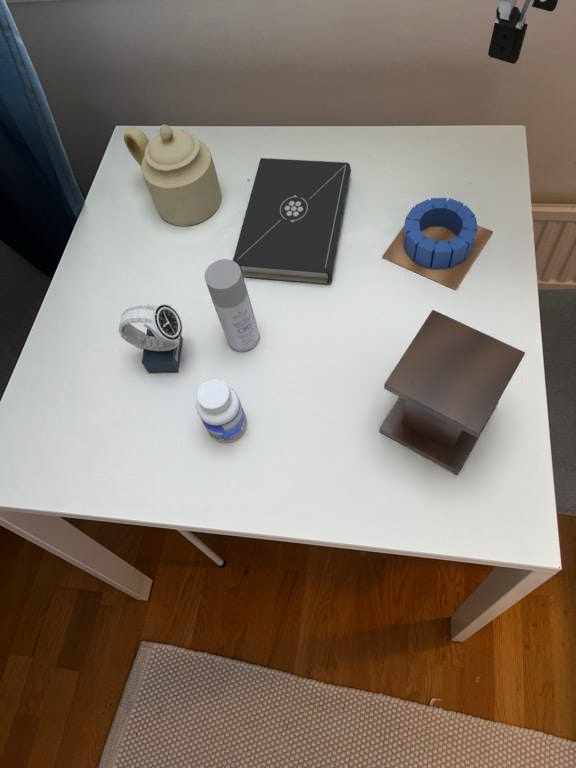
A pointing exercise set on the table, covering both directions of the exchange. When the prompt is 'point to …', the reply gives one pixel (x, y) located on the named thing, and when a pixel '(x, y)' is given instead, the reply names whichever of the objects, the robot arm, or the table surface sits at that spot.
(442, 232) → the mat
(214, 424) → the pill bottle
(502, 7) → the robot arm
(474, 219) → the ring
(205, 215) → the sugar bowl
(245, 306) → the container
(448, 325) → the platform
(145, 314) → the watch
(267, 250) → the book
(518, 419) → the table surface
